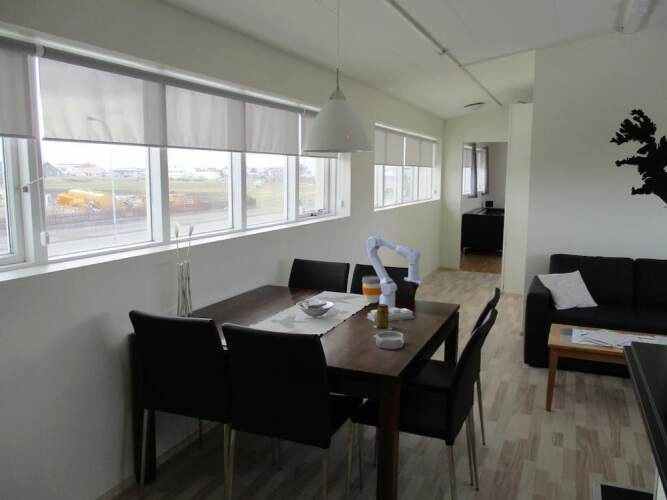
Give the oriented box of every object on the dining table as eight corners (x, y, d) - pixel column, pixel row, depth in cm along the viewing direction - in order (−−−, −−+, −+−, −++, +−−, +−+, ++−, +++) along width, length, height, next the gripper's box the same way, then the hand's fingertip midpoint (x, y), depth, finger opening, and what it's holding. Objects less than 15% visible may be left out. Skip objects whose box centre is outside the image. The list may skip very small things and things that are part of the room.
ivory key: (398, 314, 306) (398, 309, 305) (404, 313, 307) (405, 308, 307) (402, 316, 302) (403, 310, 301) (409, 315, 304) (409, 310, 303)
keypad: (364, 317, 300) (364, 312, 300) (403, 312, 312) (404, 307, 311) (375, 323, 290) (375, 317, 289) (416, 317, 301) (416, 312, 301)
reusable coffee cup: (385, 300, 340) (386, 277, 338) (375, 304, 329) (376, 280, 327) (367, 298, 346) (368, 274, 344) (357, 301, 336) (358, 277, 334)
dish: (402, 340, 261) (402, 330, 260) (407, 350, 247) (407, 339, 246) (372, 340, 260) (372, 330, 260) (375, 350, 247) (375, 339, 246)
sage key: (370, 315, 297) (370, 310, 297) (377, 314, 299) (377, 309, 299) (374, 317, 293) (375, 312, 293) (381, 316, 295) (382, 311, 295)
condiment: (384, 325, 287) (385, 302, 285) (393, 329, 279) (394, 306, 277) (372, 326, 283) (373, 304, 282) (381, 331, 276) (381, 307, 274)
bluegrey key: (389, 313, 303) (389, 308, 302) (396, 312, 305) (396, 307, 304) (393, 315, 299) (393, 310, 298) (400, 314, 301) (400, 309, 300)
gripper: (400, 270, 312) (399, 293, 314) (416, 274, 300) (415, 298, 302) (409, 269, 316) (409, 292, 318) (426, 273, 303) (425, 297, 305)
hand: (413, 295), depth 310 cm, fingers closed
